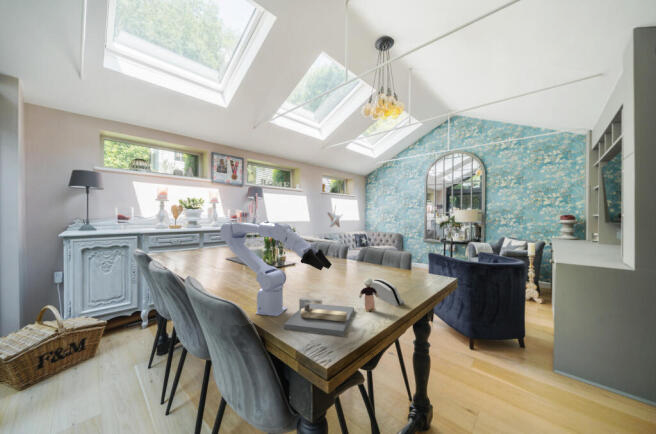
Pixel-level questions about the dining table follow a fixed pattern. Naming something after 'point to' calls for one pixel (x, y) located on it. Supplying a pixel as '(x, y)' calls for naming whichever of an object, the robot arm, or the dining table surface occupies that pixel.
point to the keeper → (307, 300)
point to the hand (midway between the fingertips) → (326, 267)
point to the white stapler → (387, 292)
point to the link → (323, 314)
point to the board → (320, 321)
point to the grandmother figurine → (369, 295)
